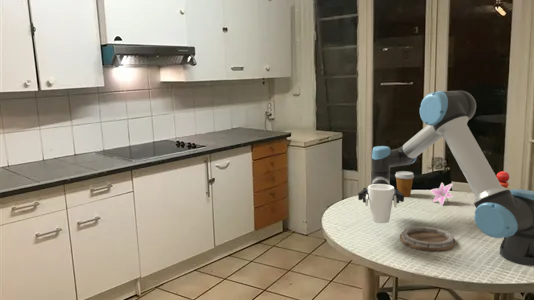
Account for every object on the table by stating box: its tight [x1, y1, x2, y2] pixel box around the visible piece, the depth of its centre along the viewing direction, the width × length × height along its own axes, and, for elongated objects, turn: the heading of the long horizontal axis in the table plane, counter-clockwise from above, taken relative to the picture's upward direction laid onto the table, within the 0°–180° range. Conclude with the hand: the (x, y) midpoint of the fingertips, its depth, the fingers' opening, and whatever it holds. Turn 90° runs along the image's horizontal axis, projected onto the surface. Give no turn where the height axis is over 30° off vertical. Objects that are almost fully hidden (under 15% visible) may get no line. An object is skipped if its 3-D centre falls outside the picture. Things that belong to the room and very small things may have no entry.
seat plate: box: [399, 226, 457, 253], centre depth 165 cm, size 20×20×2 cm
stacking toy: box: [496, 170, 510, 190], centre depth 195 cm, size 8×8×19 cm
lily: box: [430, 182, 454, 207], centre depth 213 cm, size 12×12×10 cm
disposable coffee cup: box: [394, 170, 415, 198], centre depth 226 cm, size 10×10×12 cm
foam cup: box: [367, 184, 395, 224], centre depth 162 cm, size 10×9×13 cm
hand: (380, 203), depth 158 cm, fingers closed on foam cup, 9 cm apart
